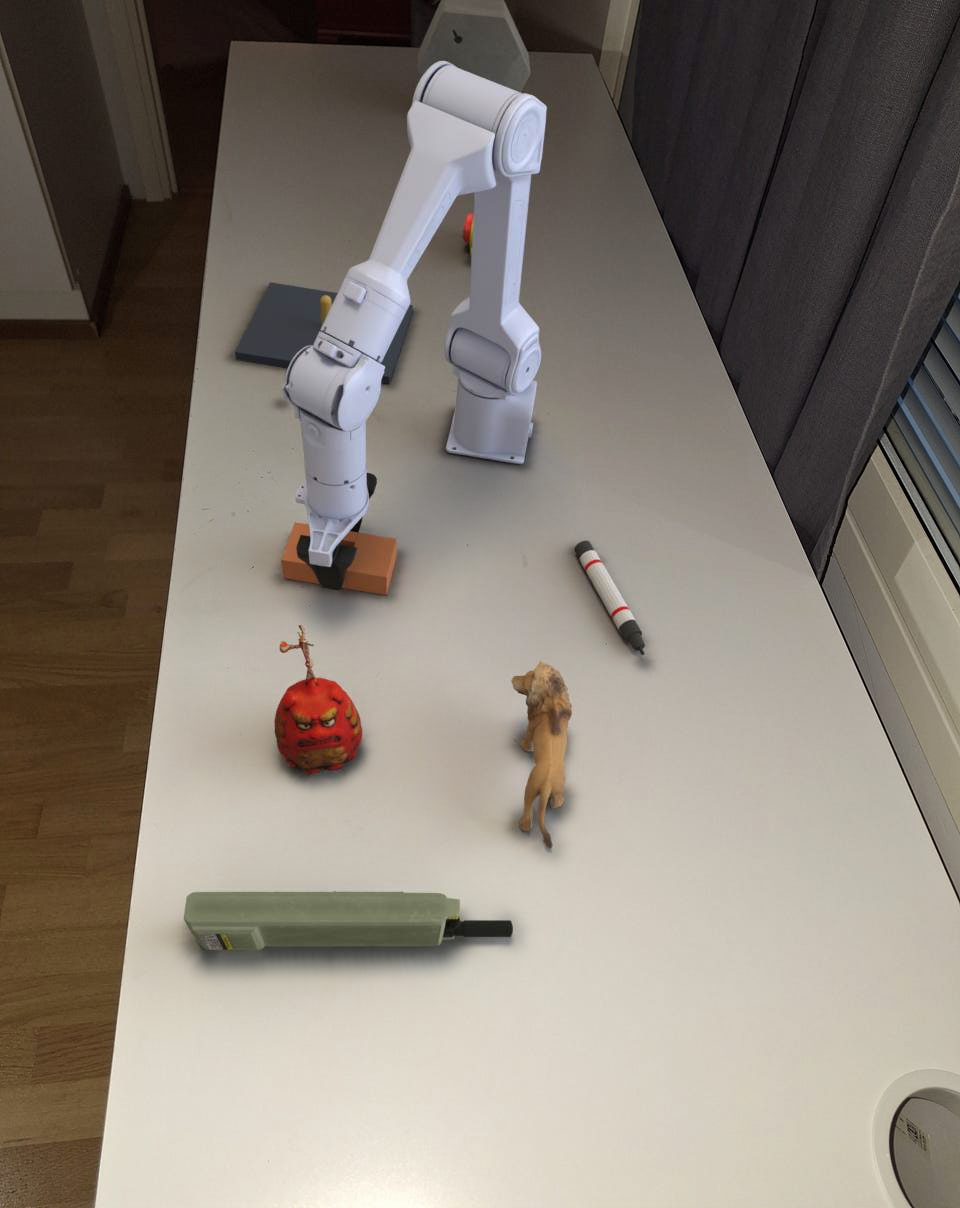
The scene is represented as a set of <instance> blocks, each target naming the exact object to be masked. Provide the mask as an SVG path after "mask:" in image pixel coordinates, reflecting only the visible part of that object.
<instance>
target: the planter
mask: <svg viewBox="0 0 960 1208" xmlns="http://www.w3.org/2000/svg"><path fill="white" fill-rule="evenodd" d="M437 6H438V7H437V8H436V11H435V13H434V15H433V18H432V19H431V22H430V24H429V26H428V29H427V31H426V33H425V34H424V38H423V39H422V43H421V45H420V47H419V49H418V51H417V67H416V68H417V69H416V71H417V74H418V75H419V77H420V79H421V78H422V76H423V75H424V74H425V72H426V71H427V70H428V69H429V68H430V67H431V66H432V65H433V64H435V63H436V62H439V61H447V62H449V63H451V64H453V65H455V66H456V67H457V68H459V69H462V70H464V71H467V72H469V73H472V74H474V75H477V76H479V77H482V78H485V79H487V80H490V81H492V82H495V83H497V84H500V85H502V86H505V87H507V88H510V89H513V90H515V91H518V92H520V93H522V91H523V89H524V88H525V85H526V83H527V82H528V80H529V78H530V76H531V74H532V72H531V64H530V63H531V62H530V56H529V52H528V50H527V48H526V46H525V44H524V43H525V42H524V41H523V39H522V36H521V35H520V33H519V30H518V28H517V26H516V24H515V21H514V19H513V17H512V15H511V13H510V11H509V9H508V5H507V3H506V1H505V0H440V2H439V3H438V5H437ZM454 32H455V33H456V35H457V37H461V41H460V42H456V41H455V39H456V36H455V33H454Z"/></svg>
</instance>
